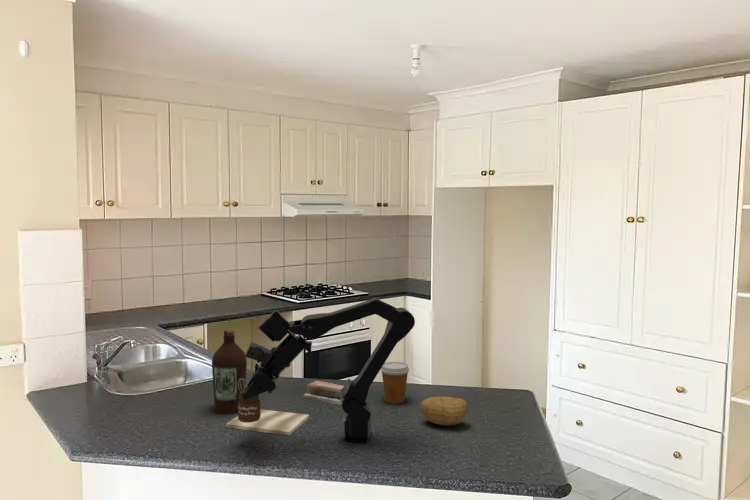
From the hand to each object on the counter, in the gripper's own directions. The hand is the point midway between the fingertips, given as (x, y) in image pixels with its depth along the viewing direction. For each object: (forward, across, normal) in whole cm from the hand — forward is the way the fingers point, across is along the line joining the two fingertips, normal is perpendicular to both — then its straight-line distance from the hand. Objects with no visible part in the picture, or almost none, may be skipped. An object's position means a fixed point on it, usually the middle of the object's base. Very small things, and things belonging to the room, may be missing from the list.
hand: (244, 395), depth 151 cm
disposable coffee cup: (-23, -29, +42) cm, 56 cm away
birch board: (+6, -14, +13) cm, 20 cm away
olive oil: (+15, -28, +4) cm, 32 cm away
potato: (-30, -7, +50) cm, 59 cm away
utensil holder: (+4, 0, +6) cm, 7 cm away
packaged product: (-8, -35, +28) cm, 46 cm away
